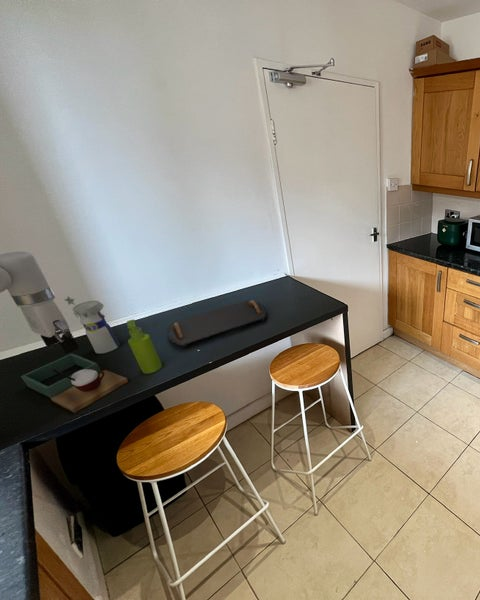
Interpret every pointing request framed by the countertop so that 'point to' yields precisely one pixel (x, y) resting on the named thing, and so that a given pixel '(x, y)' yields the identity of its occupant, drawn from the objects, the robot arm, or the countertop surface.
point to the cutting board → (89, 392)
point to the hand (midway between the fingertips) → (62, 347)
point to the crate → (59, 365)
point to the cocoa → (84, 379)
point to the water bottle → (95, 326)
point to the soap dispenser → (143, 349)
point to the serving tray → (215, 322)
